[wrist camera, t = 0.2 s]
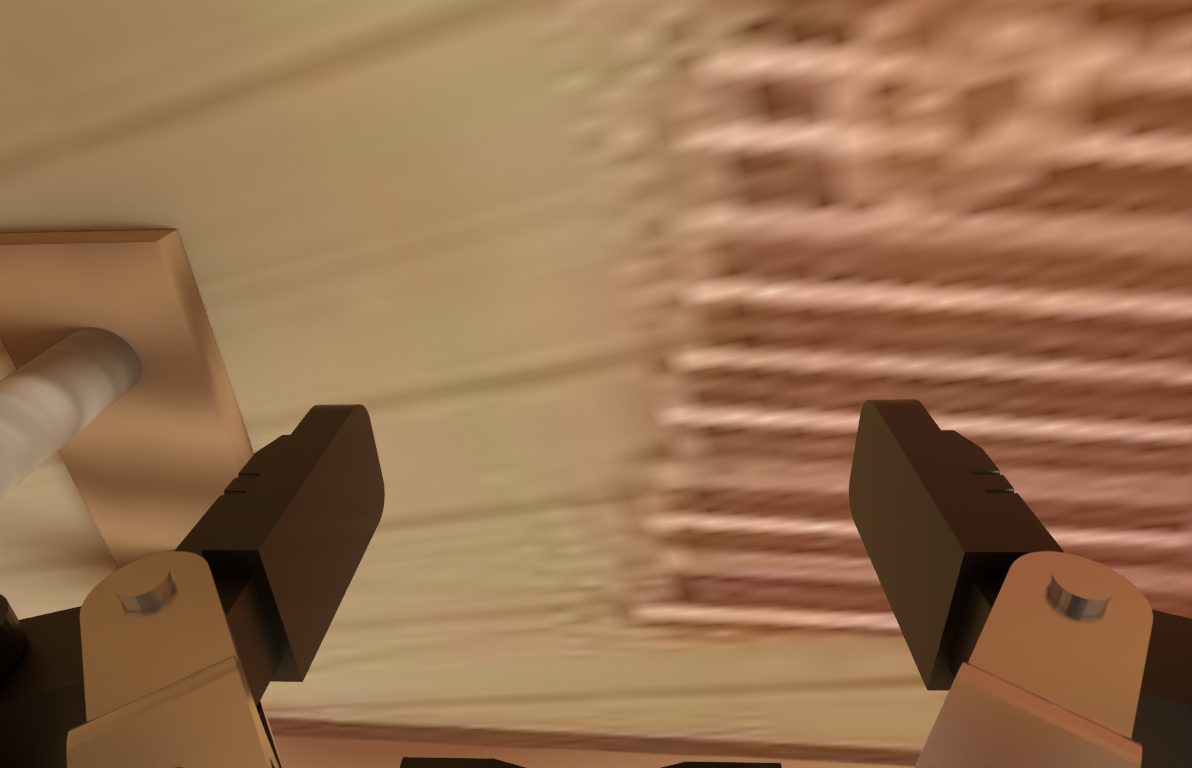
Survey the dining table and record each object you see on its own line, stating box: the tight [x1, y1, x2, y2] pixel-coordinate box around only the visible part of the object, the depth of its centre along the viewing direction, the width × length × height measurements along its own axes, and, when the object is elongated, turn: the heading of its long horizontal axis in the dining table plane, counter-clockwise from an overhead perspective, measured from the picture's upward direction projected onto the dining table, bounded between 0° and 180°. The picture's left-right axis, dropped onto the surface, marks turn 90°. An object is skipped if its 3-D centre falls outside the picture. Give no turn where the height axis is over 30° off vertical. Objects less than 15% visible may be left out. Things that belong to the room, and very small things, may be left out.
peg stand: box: [0, 229, 254, 569], centre depth 30 cm, size 22×8×10 cm, turn 2°
